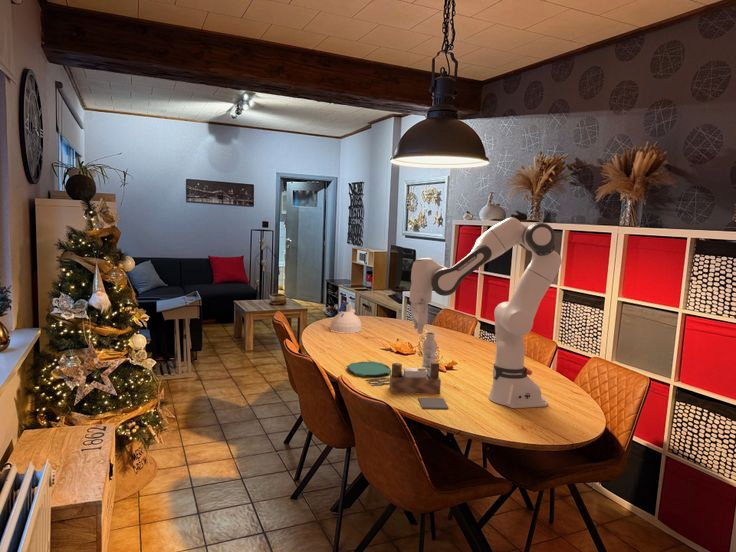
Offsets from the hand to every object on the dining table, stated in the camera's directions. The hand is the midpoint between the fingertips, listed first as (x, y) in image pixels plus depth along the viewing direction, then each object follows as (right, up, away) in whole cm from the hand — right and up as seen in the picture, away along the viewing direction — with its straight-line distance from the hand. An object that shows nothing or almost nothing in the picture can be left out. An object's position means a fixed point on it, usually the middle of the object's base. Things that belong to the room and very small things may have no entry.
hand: (417, 330), depth 205 cm
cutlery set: (-18, -23, +23) cm, 37 cm away
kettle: (-34, -12, +110) cm, 116 cm away
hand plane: (-1, -25, +4) cm, 25 cm away
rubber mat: (+5, -27, -11) cm, 30 cm away
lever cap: (-1, -19, +3) cm, 19 cm away
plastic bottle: (+7, -23, +23) cm, 34 cm away
